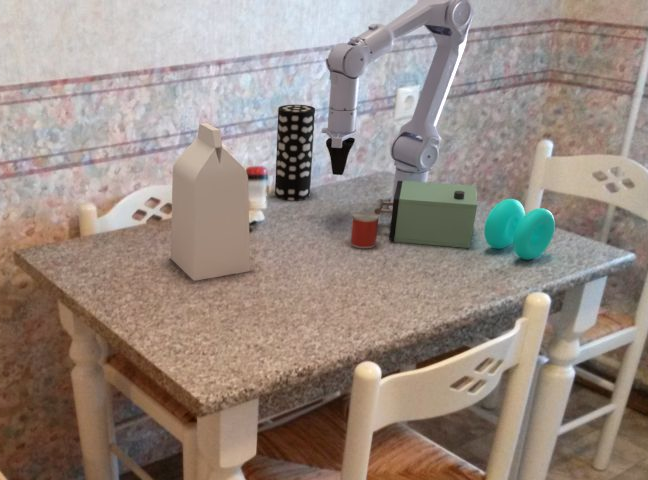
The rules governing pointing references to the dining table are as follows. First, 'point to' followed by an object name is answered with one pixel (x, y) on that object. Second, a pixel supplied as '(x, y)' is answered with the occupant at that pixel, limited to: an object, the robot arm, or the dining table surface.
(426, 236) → the green box with knob
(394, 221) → the open drawer with handle
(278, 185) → the spotted tube
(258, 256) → the dining table surface
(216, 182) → the milk
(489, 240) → the turquoise yo-yo
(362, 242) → the can
